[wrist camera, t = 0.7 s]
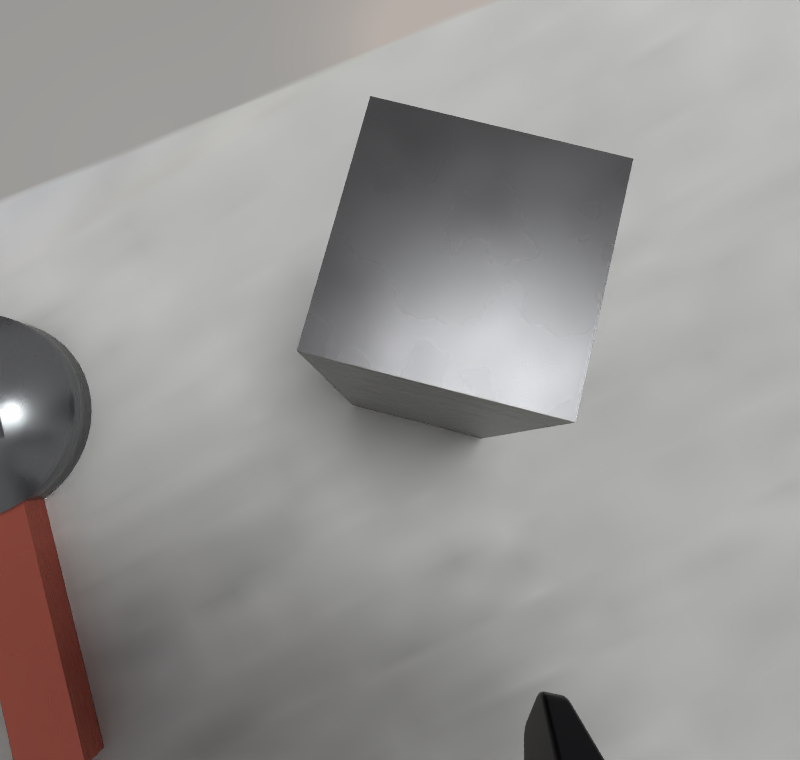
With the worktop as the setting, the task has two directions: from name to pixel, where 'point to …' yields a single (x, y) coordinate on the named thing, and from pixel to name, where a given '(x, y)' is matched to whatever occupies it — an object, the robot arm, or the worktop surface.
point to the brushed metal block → (465, 272)
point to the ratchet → (39, 549)
